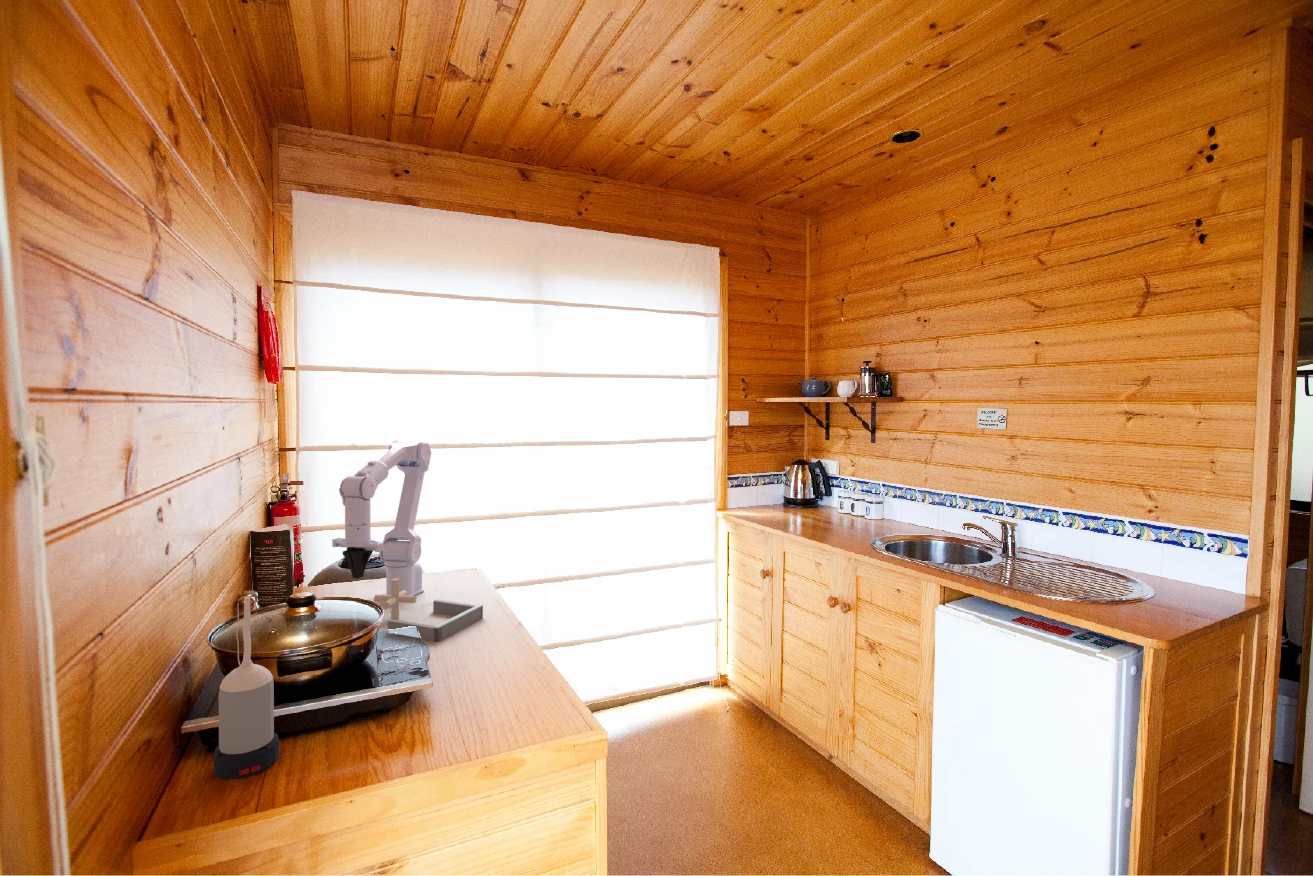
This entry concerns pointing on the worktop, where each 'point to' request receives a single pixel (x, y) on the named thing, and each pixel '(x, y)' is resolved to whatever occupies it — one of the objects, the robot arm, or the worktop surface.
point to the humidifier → (246, 716)
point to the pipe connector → (394, 599)
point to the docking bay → (463, 618)
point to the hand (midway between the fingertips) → (358, 577)
